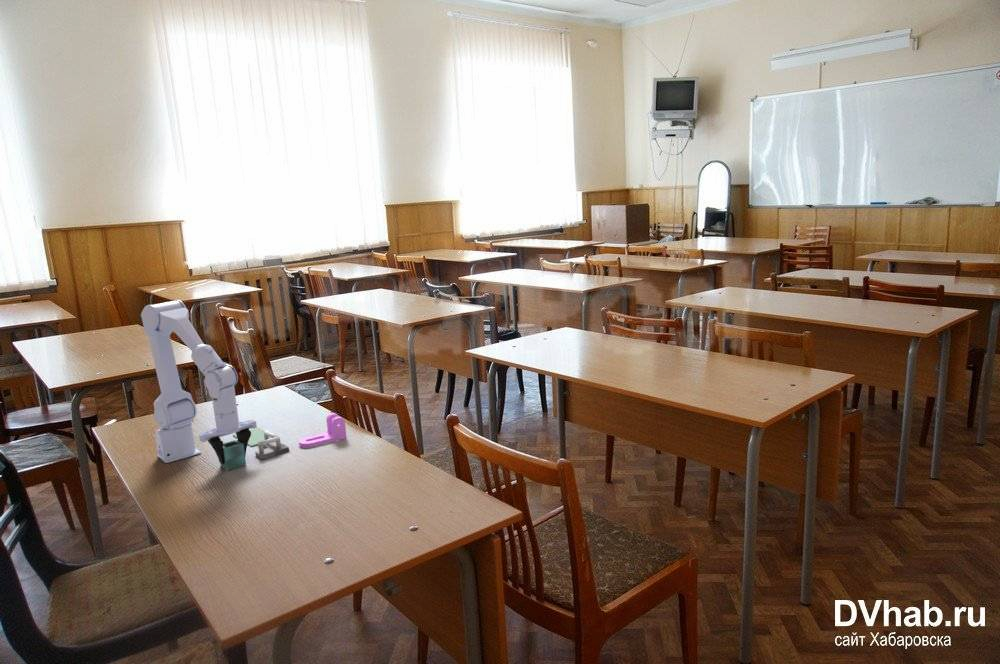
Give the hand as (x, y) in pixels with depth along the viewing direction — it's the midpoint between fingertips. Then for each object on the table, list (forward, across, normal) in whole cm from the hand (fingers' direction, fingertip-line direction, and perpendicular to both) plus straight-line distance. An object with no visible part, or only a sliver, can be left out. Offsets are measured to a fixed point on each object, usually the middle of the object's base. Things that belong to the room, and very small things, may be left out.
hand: (232, 459), depth 180 cm
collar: (+2, 0, 0) cm, 2 cm away
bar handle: (+2, +11, +4) cm, 12 cm away
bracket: (+2, +25, -2) cm, 25 cm away
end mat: (+2, +13, +17) cm, 21 cm away
